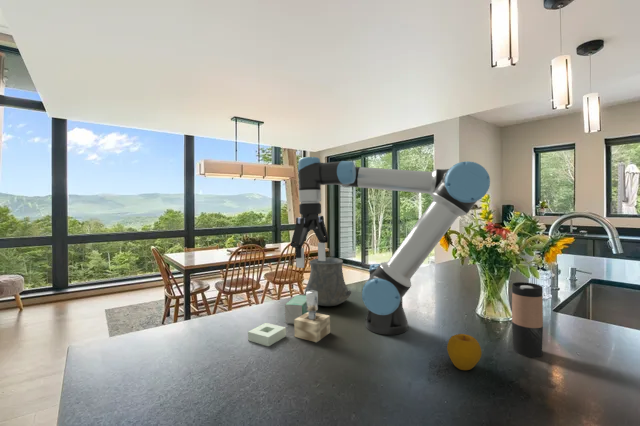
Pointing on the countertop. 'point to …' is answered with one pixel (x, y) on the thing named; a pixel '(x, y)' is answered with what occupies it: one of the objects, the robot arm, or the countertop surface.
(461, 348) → the apple
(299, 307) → the box
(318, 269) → the vessel
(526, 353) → the travel mug
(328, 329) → the block
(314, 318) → the silver peg
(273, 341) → the stand
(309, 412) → the countertop surface
